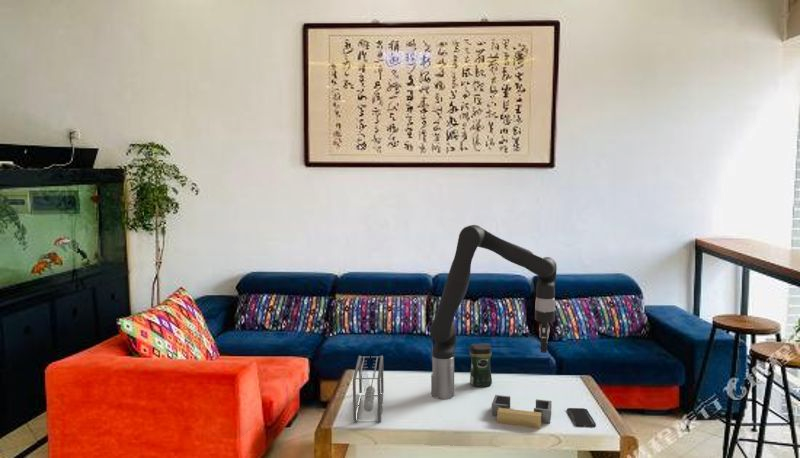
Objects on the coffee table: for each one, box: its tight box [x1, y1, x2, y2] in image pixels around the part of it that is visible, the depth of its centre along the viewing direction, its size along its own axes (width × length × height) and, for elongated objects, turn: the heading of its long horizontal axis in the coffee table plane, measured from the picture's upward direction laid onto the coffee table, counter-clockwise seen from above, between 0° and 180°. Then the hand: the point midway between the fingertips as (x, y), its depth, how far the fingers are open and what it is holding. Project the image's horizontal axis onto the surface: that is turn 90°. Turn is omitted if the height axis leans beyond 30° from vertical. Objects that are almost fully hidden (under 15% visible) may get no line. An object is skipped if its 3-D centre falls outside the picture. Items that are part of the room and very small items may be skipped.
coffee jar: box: [469, 342, 493, 388], centre depth 252 cm, size 10×8×19 cm
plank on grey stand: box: [491, 394, 553, 424], centre depth 220 cm, size 22×10×5 cm, turn 72°
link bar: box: [496, 408, 542, 430], centre depth 212 cm, size 16×4×5 cm, turn 72°
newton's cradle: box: [352, 355, 385, 423], centre depth 228 cm, size 30×10×18 cm, turn 0°
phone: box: [566, 407, 597, 428], centre depth 217 cm, size 8×1×15 cm
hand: (544, 349), depth 221 cm, fingers open, 8 cm apart
